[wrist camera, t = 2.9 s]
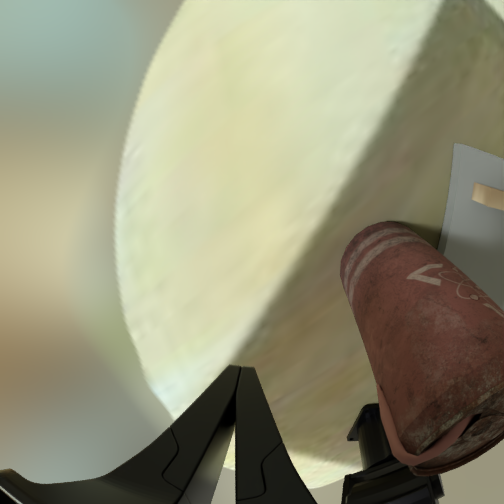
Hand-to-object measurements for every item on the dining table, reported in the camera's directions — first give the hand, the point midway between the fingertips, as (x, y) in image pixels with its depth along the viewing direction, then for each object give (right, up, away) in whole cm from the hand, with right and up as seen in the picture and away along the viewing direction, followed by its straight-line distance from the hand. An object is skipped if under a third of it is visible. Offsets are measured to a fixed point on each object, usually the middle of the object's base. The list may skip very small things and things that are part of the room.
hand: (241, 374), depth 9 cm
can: (+9, +3, +9) cm, 13 cm away
